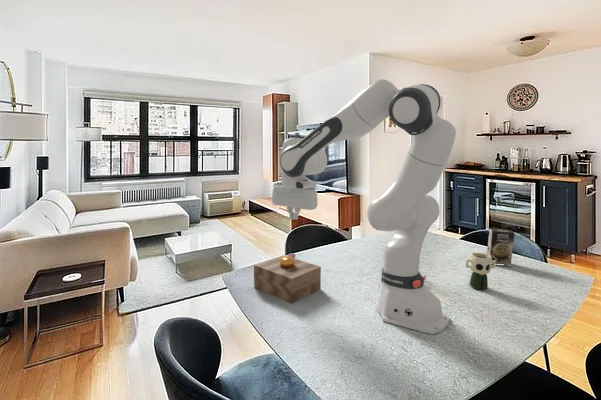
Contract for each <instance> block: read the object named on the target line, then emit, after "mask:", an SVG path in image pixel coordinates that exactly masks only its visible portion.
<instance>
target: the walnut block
mask: <svg viewBox="0 0 601 400" xmlns="http://www.w3.org/2000/svg"><path fill="white" fill-rule="evenodd" d="M283 256H285V255H284V254H283V255H280V256H276V257H274V258H271V259H267V260H264V261H262V262H259V263H256V264H253V286H254V287H253V288H255V289H257V290H260V291H262V292H264V293H267V294H269V295H271V296H273V297H275V298H278V299H281V300H282V301H285V302H288V303H290V304H294V303H296V302H298V301H299V300H301V299H304V298H306V297H307V296H310V295H312V294H313V293H315V292H317V291H318V292H319V290H321V285H322V283H321V282H322V281H321V277H322V275H321V274H322V271H321V270H322V266H319V265H317V264H315V263H314V264H313V263H310V262H307V261H303V260H300V259H297V258H295V267H293V268H288V269H286V268H282V267H280V257H283Z"/></svg>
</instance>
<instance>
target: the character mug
mask: <svg viewBox="0 0 601 400" xmlns="http://www.w3.org/2000/svg"><path fill="white" fill-rule="evenodd" d="M491 263H493V265H491ZM495 263H496V262H495V260H492V257H491V256H490V255H488V254H487V253H482V252H472V253H470V259H466V260H465V268H469V269H470V271H472V272H471V275H470V279H469V286H470V287H471V288H473V289H477V290H481V289H483V290H487V289H489V288H488V286H489V285H488V284H489V282H488V281H489V280H488V276H487V274H489V273H490V272H491V270H492V269H495V268H496V265H495ZM482 287H483V288H482Z"/></svg>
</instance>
